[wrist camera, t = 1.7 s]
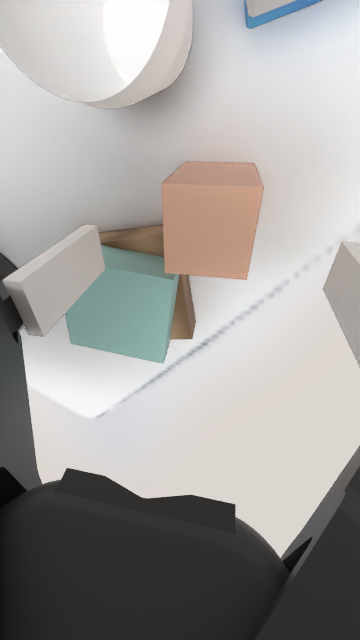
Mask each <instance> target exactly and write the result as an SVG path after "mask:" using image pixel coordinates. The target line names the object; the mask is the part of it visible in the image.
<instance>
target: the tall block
mask: <svg viewBox="0 0 360 640" xmlns="http://www.w3.org/2000/svg"><path fill="white" fill-rule="evenodd" d="M161 185H162V211H163V238H164V264H165V273H172V274H184V275H196V276H207V277H219V278H231V279H243V280H247V276H248V270H249V265H250V260H251V254H252V249H253V243H254V238H255V233H256V227H257V222H258V216H259V211H260V205H261V200H262V195H263V189H264V186H263V184H262V181H261V179H260V176H259V173H258V171H257V168H256V166H255V163H226V162H185V163H184V164H183V165H182V166H181V167H180V168H178V169H177V170H176V171H175V172H174V173H173V174H172V175H170V176H169V177H168V178H167V179H166V180H165V181H164V182H162V183H161Z"/></svg>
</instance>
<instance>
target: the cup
mask: <svg viewBox="0 0 360 640" xmlns="http://www.w3.org/2000/svg"><path fill="white" fill-rule="evenodd" d="M192 32H193V0H0V46H1V48H2V49H3V50H4V52H5V53H6V54H7V55H8V57H9V58H10V59H11V60H12V61H13V63H14V64H15V65H16V66H17V67H18V68H19V69H20V70H21V71H22V72H23V73H24V74H25V75H26V76H28V77H29V78H30V79H31V80H32V81H34V82H35V83H36V84H38V85H39V86H40V87H42V88H43V89H45V90H47V91H48V92H50V93H52V94H54V95H56V96H59V97H61V98H64V99H67V100H71V101H76V102H81V103H84V104H87V105H90V106H93V107H97V108H104V109H116V108H122V107H127V106H130V105H133V104H135V103H137V102H139V101H141V100H143V99H145V98H147V97H149V96H151V95H153V94H155V93H157V92H159V91H161V90H163V89H165V88H166V87H168V86H169V85H171V84H172V83H173V82H174V81H175V80H176V79H177V77H178V76H179V75H180V73H181V71H182V70H183V68H184V66H185V64H186V61H187V58H188V55H189V52H190V48H191V42H192Z"/></svg>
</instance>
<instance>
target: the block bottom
mask: <svg viewBox="0 0 360 640" xmlns="http://www.w3.org/2000/svg"><path fill="white" fill-rule="evenodd" d="M99 239H100V244H101V245H104V246H109V247H114V248H119V249H124V250H130V251H135V252H140V253H145V254H150V255H155V256H161V257H164V238H163V225H159V226H151V227H143V228H134V229H126V230H117V231H109V232H100V233H99ZM195 323H196V321H195V314H194V308H193V302H192V296H191V290H190V284H189V277H188V275H184V274H179V280H178V287H177V295H176V302H175V310H174V317H173V324H172V332H171V339H192V338H193V333H194V328H195Z"/></svg>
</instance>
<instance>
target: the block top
mask: <svg viewBox="0 0 360 640" xmlns="http://www.w3.org/2000/svg"><path fill="white" fill-rule="evenodd" d="M101 249H102V254H103V259H104V264H105V270H104V271H103V272H102V273H101V274H100V275H99V276H98V277H97V278H96V280H95V281H94V282H93V283H92V284H91V285H90V286H89V287H88V288H87V290H86V291H85V292H84V293H83V294H82V295H81V296H80V297H79V298H78V300H77V301H76V302H75V303H74V304H73V305H72V306H71V307H70V308H69V310H68V311H67V312H66V313H65V315H66V320H67V325H68V330H69V335H70V340H71V344H75V345H80V346H85V347H89V348H94V349H98V350H103V351H108V352H112V353H117V354H121V355H126V356H131V357H135V358H140V359H144V360H149V361H154V362H158V363H164V360H165V356H166V353H167V350H168V346H169V343H170V339H171V332H172V324H173V317H174V310H175V302H176V295H177V287H178V280H179V274H172V273H165V264H164V257H161V256H155V255H150V254H145V253H140V252H135V251H130V250H124V249H119V248H114V247H109V246H104V245H101Z"/></svg>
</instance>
